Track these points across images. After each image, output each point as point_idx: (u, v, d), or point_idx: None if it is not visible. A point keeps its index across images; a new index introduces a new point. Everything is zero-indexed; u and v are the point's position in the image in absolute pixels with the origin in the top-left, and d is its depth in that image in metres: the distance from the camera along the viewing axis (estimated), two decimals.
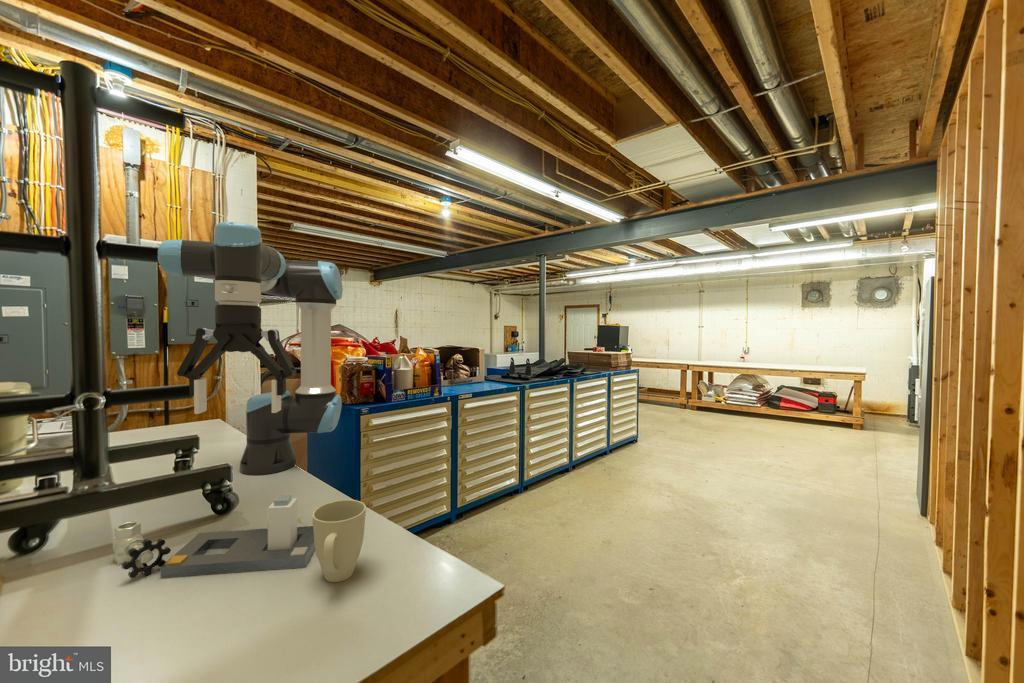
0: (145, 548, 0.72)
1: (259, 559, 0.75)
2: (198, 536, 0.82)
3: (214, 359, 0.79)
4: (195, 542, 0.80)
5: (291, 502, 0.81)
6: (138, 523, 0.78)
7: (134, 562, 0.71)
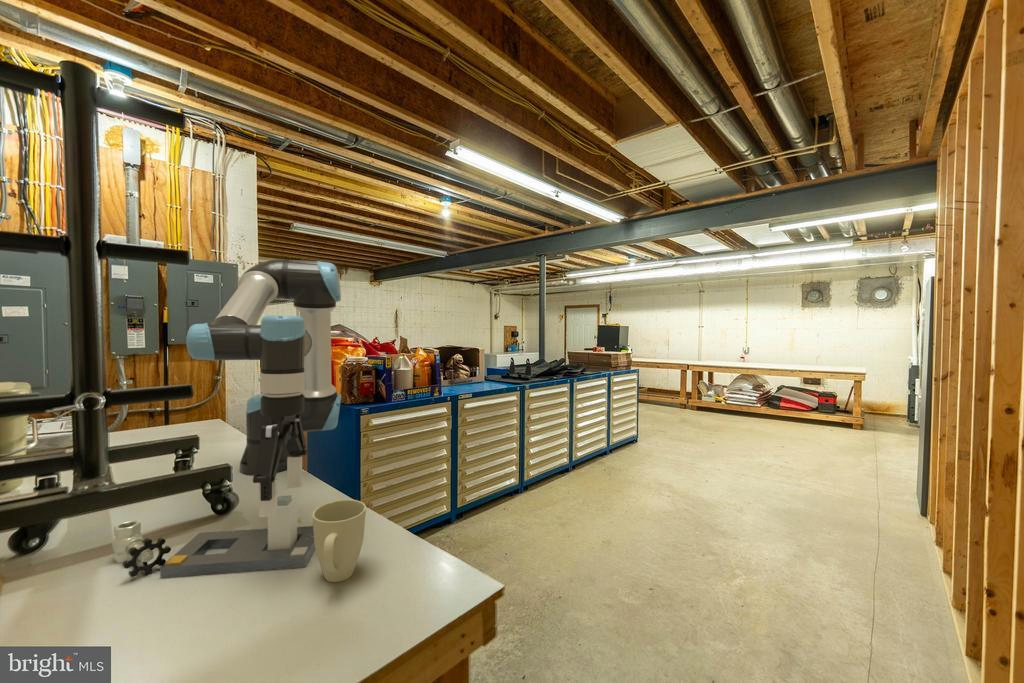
0: (145, 547, 0.72)
1: (259, 559, 0.75)
2: (198, 536, 0.82)
3: (291, 442, 0.84)
4: (195, 542, 0.80)
5: (291, 502, 0.81)
6: (138, 522, 0.78)
7: (135, 561, 0.71)
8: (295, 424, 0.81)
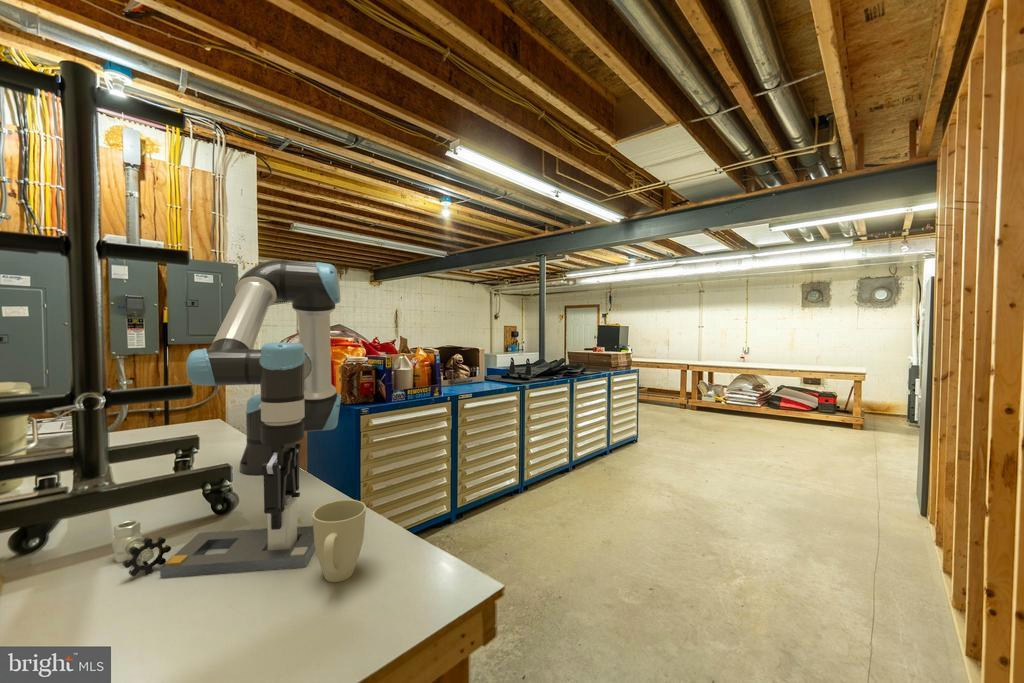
0: (146, 546, 0.73)
1: (259, 559, 0.75)
2: (198, 536, 0.82)
3: (287, 476, 0.82)
4: (195, 542, 0.80)
5: (291, 502, 0.81)
6: (137, 522, 0.79)
7: (135, 560, 0.71)
8: (295, 450, 0.82)
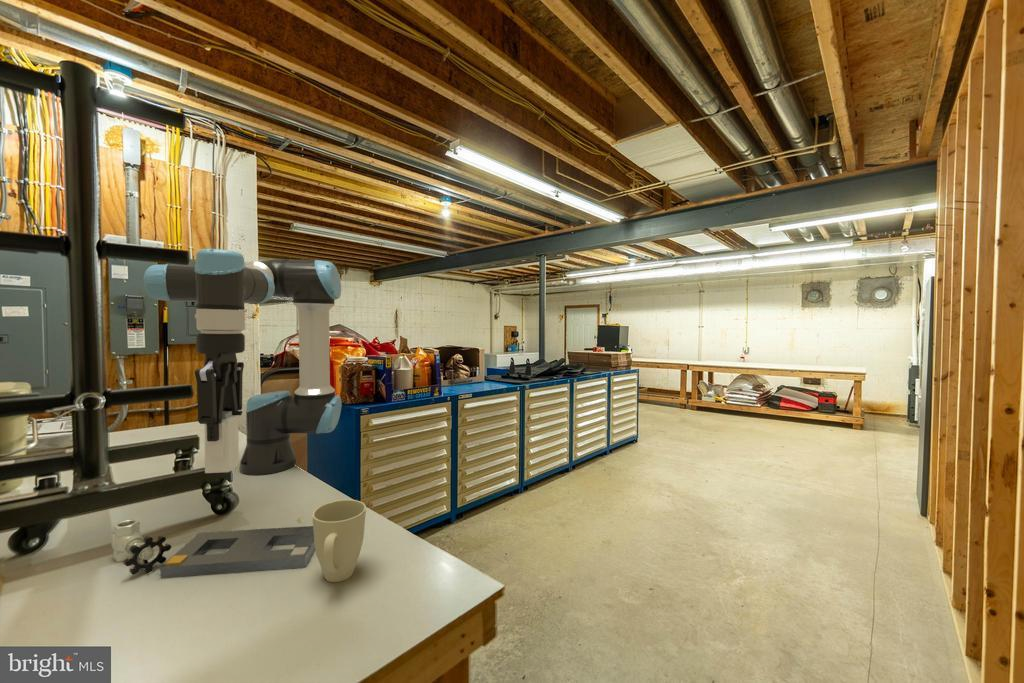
0: (146, 545, 0.73)
1: (259, 559, 0.75)
2: (198, 536, 0.82)
3: (227, 392, 0.80)
4: (195, 542, 0.80)
5: (231, 417, 0.78)
6: (137, 521, 0.79)
7: (135, 559, 0.72)
8: (235, 364, 0.79)
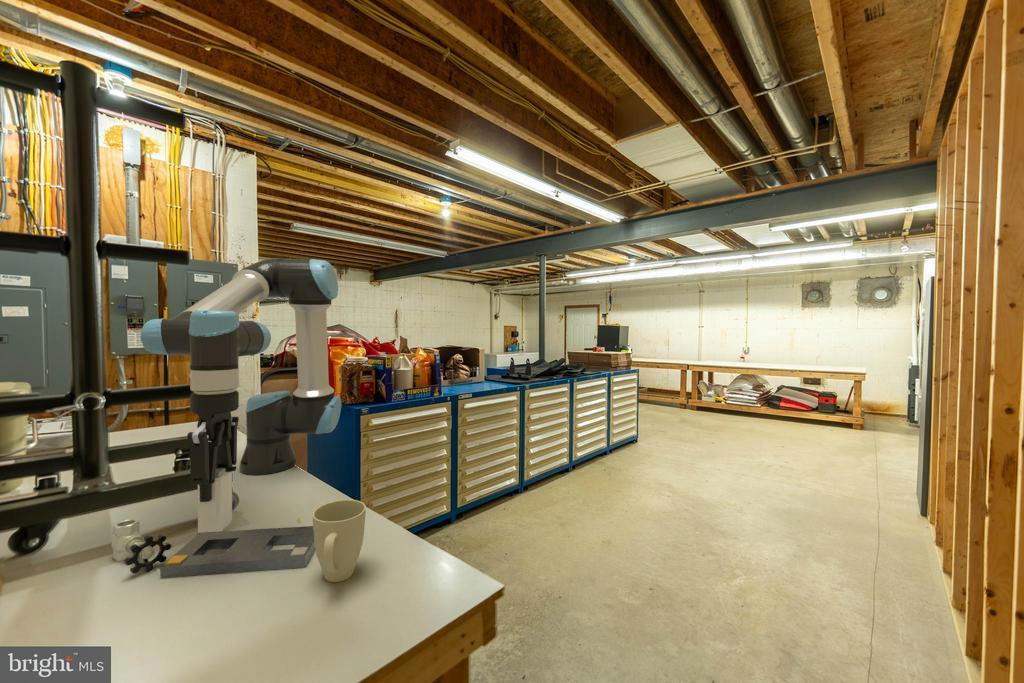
0: (147, 544, 0.73)
1: (259, 559, 0.75)
2: (198, 536, 0.82)
3: (221, 449, 0.80)
4: (195, 542, 0.80)
5: (224, 475, 0.79)
6: (137, 521, 0.79)
7: (136, 558, 0.72)
8: (229, 422, 0.79)
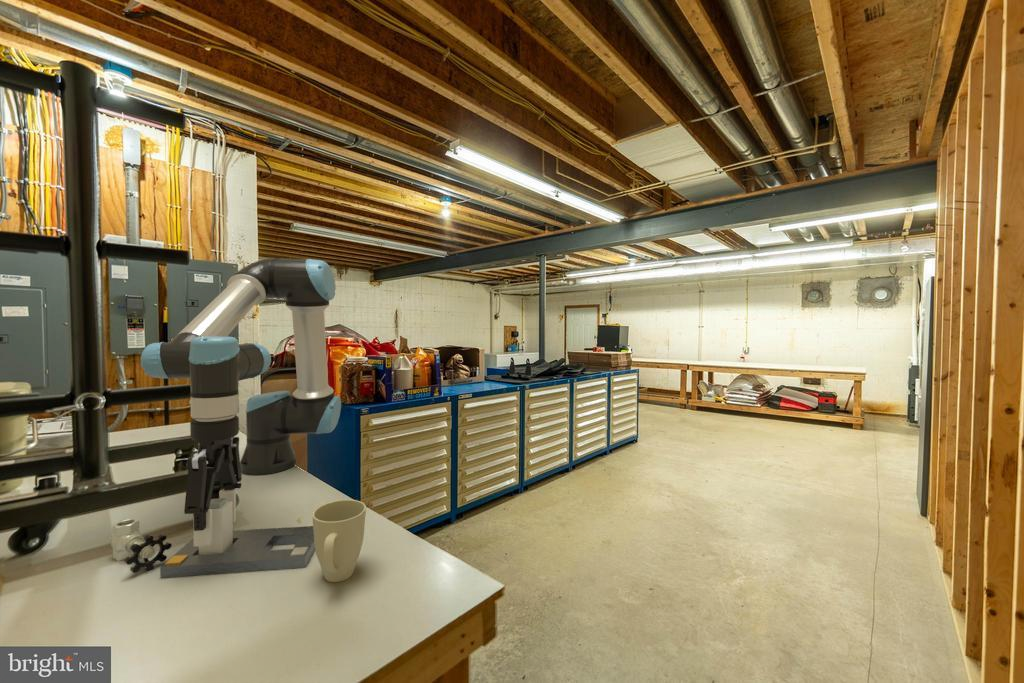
0: (147, 543, 0.74)
1: (259, 559, 0.75)
2: None
3: (224, 471, 0.81)
4: None
5: (225, 505, 0.79)
6: (136, 520, 0.79)
7: (136, 557, 0.72)
8: (229, 447, 0.80)
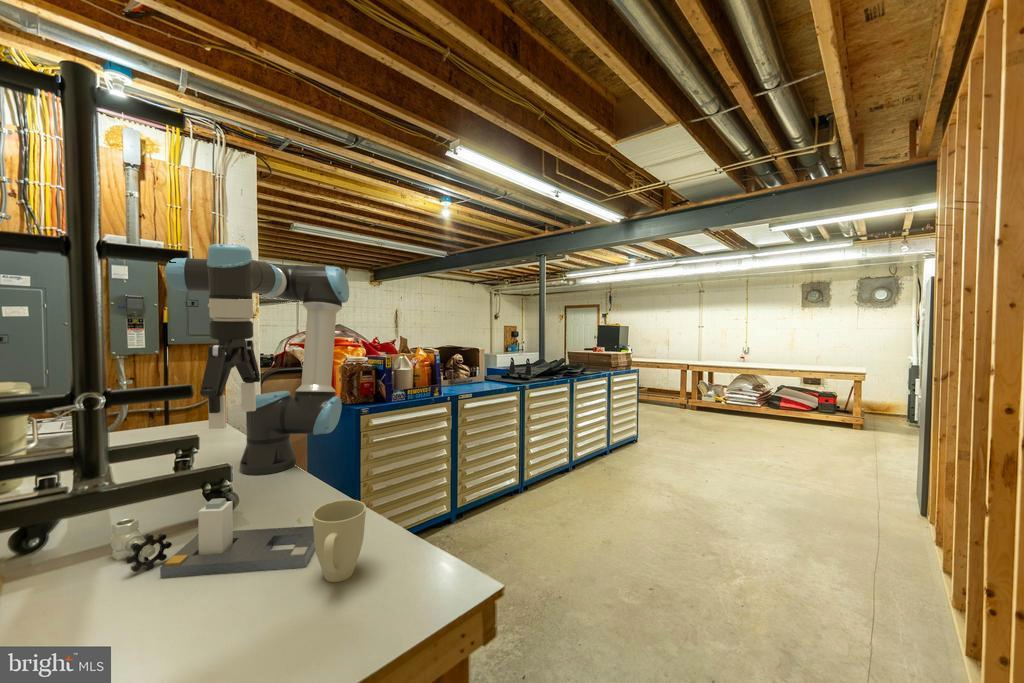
0: (147, 542, 0.74)
1: (259, 559, 0.75)
2: (198, 536, 0.82)
3: (243, 368, 0.90)
4: (195, 542, 0.80)
5: (225, 505, 0.79)
6: (136, 520, 0.80)
7: (137, 556, 0.73)
8: (245, 349, 0.87)
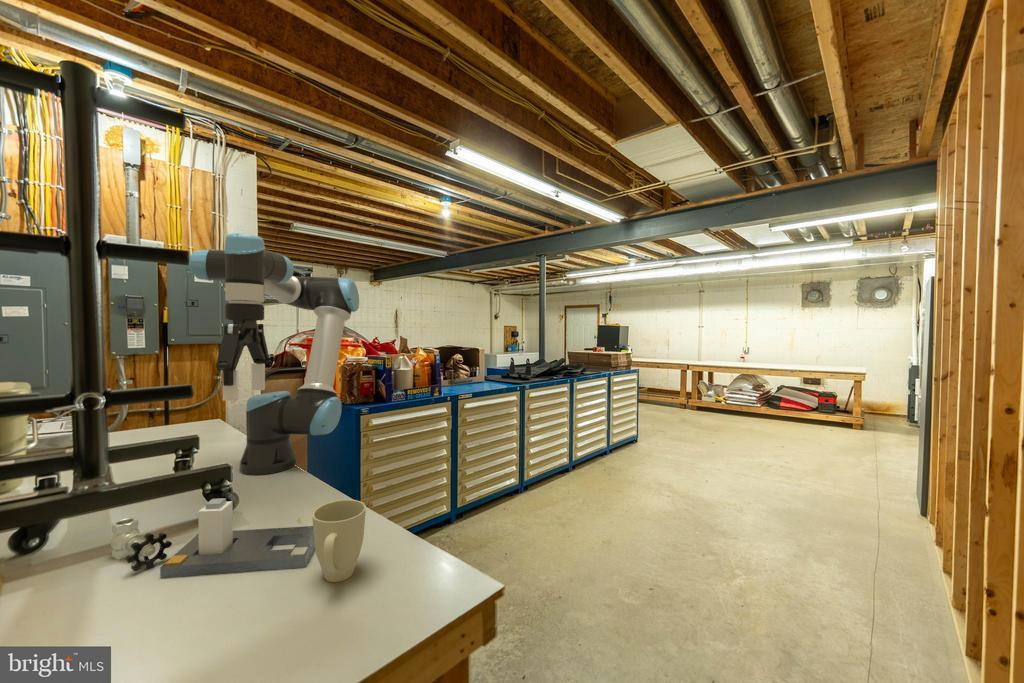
0: (147, 542, 0.74)
1: (259, 559, 0.75)
2: (198, 536, 0.82)
3: (254, 349, 0.98)
4: (195, 542, 0.80)
5: (225, 505, 0.79)
6: (136, 519, 0.80)
7: (137, 555, 0.73)
8: (256, 330, 0.95)
